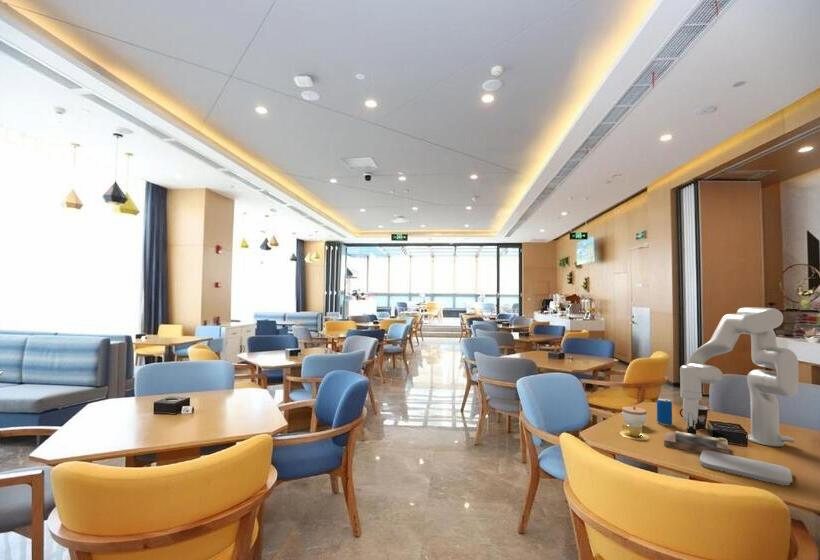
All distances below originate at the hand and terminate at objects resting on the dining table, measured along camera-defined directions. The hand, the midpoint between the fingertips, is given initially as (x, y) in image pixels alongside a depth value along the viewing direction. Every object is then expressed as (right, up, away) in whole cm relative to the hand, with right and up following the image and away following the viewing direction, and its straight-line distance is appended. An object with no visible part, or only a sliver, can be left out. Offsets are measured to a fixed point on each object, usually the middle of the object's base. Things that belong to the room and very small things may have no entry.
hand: (691, 437), depth 173 cm
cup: (-18, -4, +12) cm, 22 cm away
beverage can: (+7, -5, +30) cm, 31 cm away
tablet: (+3, -4, -23) cm, 23 cm away
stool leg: (+1, -1, -5) cm, 5 cm away
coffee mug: (+19, -5, +25) cm, 32 cm away
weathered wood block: (+1, -4, -1) cm, 4 cm away
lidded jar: (-9, -5, +27) cm, 29 cm away
